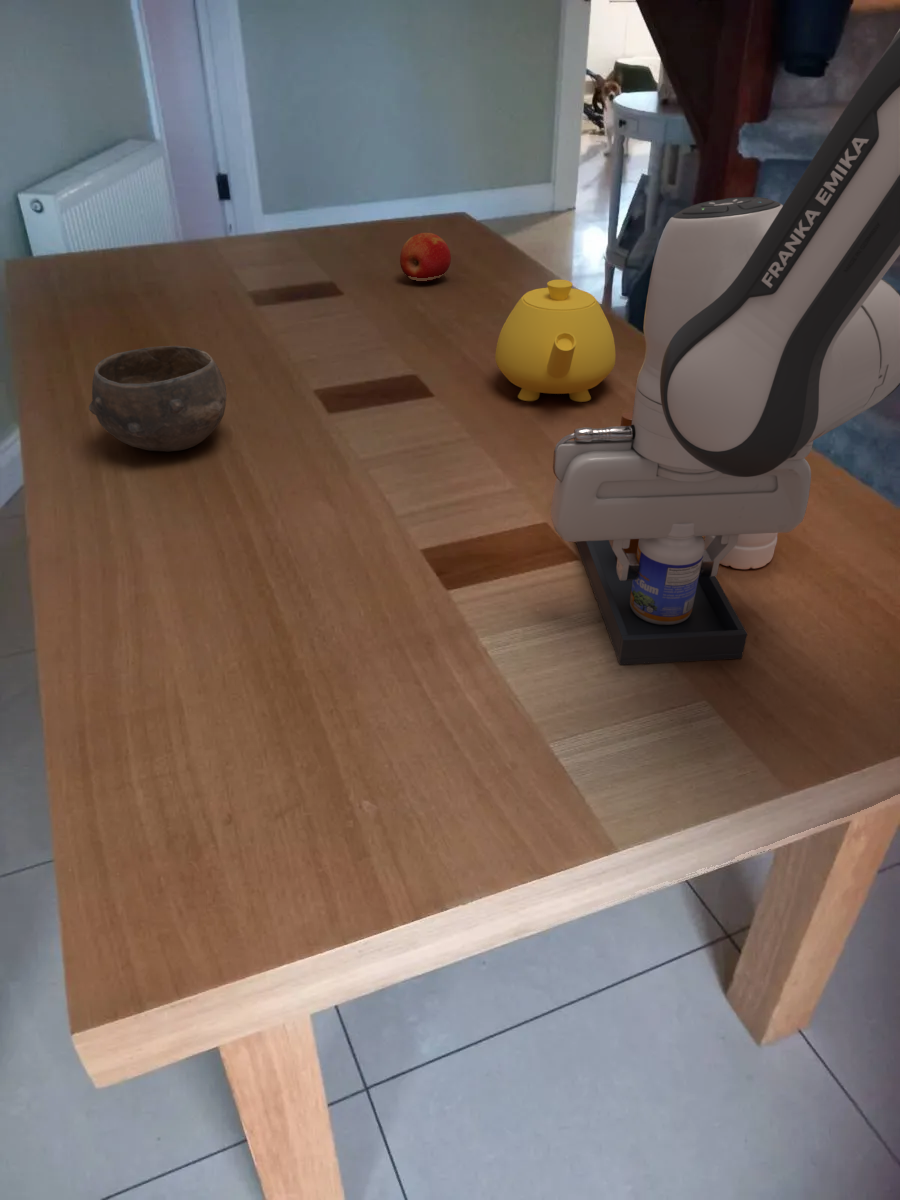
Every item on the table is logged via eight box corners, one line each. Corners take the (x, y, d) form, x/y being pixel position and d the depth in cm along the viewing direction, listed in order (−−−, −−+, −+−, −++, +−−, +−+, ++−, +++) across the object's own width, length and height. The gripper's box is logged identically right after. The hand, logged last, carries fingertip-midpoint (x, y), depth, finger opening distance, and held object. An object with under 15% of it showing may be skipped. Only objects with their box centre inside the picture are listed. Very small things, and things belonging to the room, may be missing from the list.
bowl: (240, 460, 105) (228, 376, 99) (99, 480, 101) (77, 394, 95) (226, 412, 116) (214, 334, 110) (98, 428, 112) (78, 348, 106)
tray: (561, 501, 97) (562, 479, 95) (656, 497, 98) (659, 475, 96) (619, 665, 75) (623, 640, 73) (742, 658, 75) (747, 633, 74)
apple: (457, 281, 161) (457, 233, 156) (424, 292, 156) (424, 243, 151) (424, 272, 165) (423, 225, 160) (391, 282, 160) (389, 234, 155)
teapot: (622, 427, 112) (635, 314, 104) (494, 425, 112) (497, 313, 104) (606, 365, 128) (616, 264, 120) (494, 364, 129) (497, 263, 121)
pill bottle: (618, 597, 82) (630, 501, 76) (673, 586, 83) (689, 491, 77) (647, 632, 77) (662, 533, 72) (704, 621, 79) (723, 522, 73)
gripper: (562, 447, 67) (551, 602, 75) (835, 437, 68) (795, 590, 76) (548, 412, 72) (539, 560, 80) (802, 403, 73) (768, 549, 81)
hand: (666, 574), depth 78 cm, fingers closed on pill bottle, 5 cm apart
